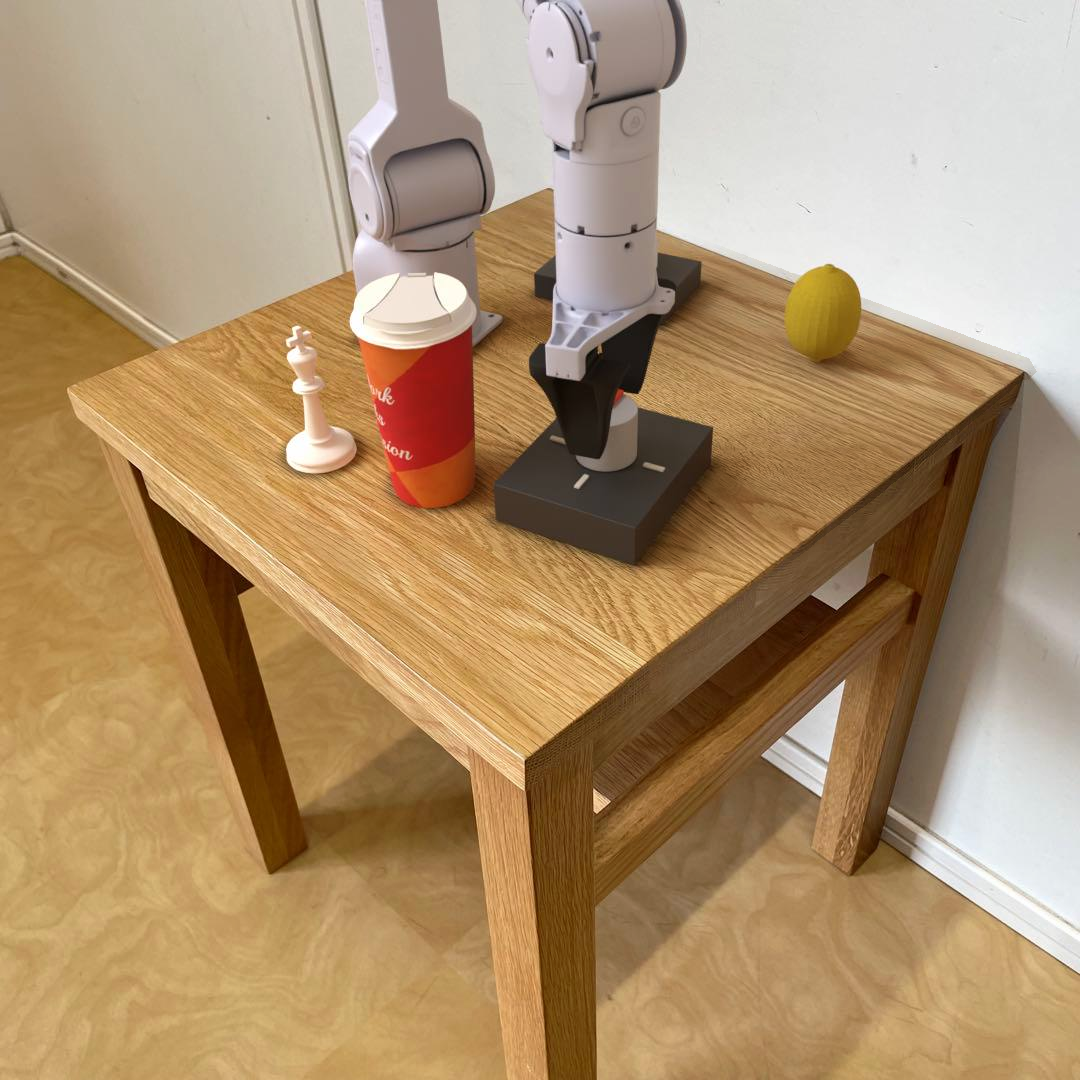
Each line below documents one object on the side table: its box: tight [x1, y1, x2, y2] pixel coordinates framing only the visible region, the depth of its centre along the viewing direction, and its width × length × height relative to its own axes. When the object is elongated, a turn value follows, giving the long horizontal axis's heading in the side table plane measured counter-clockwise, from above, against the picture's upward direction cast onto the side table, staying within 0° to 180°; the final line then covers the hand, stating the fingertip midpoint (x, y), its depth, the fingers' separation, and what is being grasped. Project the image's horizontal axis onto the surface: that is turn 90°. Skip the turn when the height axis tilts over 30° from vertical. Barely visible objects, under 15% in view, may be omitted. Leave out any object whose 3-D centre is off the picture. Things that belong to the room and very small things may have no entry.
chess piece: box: [285, 325, 358, 474], centre depth 76 cm, size 5×5×10 cm
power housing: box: [533, 252, 703, 326], centre depth 95 cm, size 12×8×4 cm, turn 61°
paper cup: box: [349, 272, 477, 509], centre depth 71 cm, size 8×8×14 cm
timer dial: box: [576, 389, 638, 472], centre depth 71 cm, size 4×4×4 cm
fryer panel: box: [492, 406, 714, 566], centre depth 73 cm, size 10×12×3 cm
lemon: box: [784, 263, 862, 363], centre depth 83 cm, size 6×6×8 cm
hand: (606, 420), depth 70 cm, fingers open, 7 cm apart
